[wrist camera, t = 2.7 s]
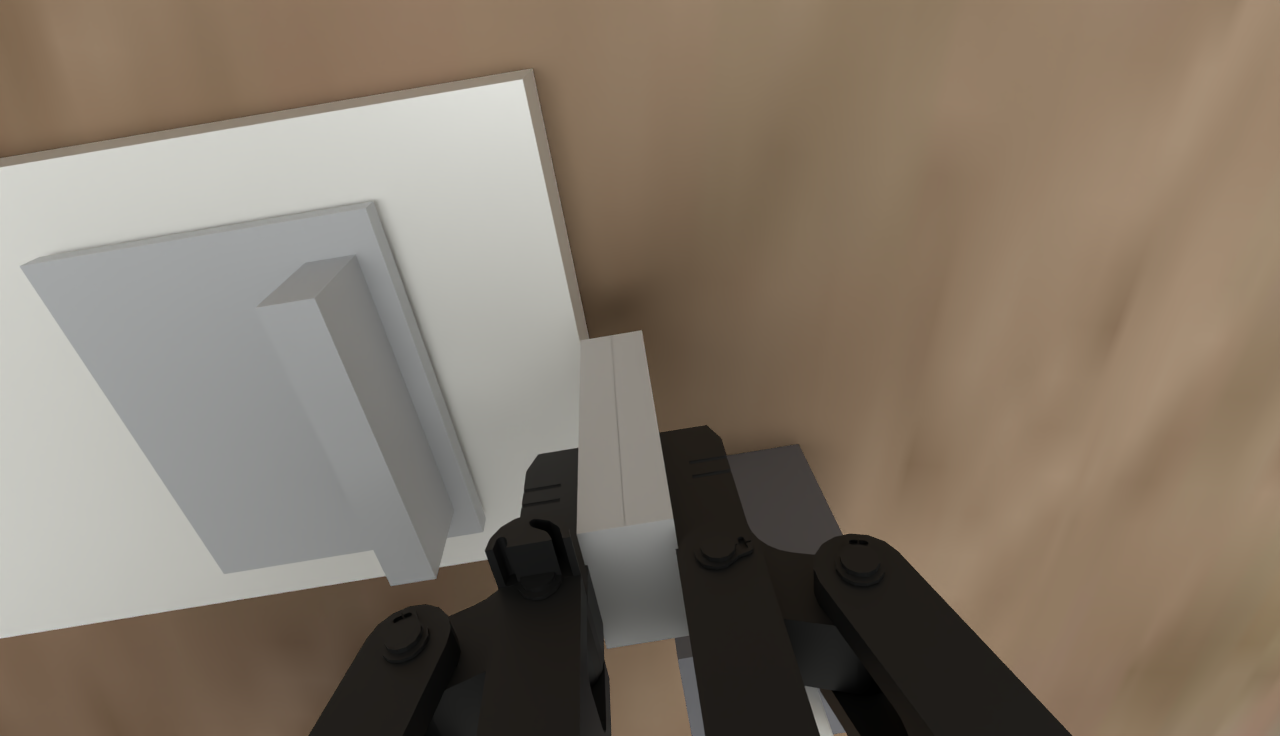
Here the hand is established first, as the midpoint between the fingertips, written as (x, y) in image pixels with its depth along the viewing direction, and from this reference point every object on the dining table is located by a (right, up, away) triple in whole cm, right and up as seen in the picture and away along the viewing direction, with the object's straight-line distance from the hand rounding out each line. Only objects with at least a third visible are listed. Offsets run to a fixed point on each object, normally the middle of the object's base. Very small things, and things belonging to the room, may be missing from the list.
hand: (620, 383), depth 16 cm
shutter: (-9, -1, +2) cm, 9 cm away
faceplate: (-12, 0, +4) cm, 13 cm away
